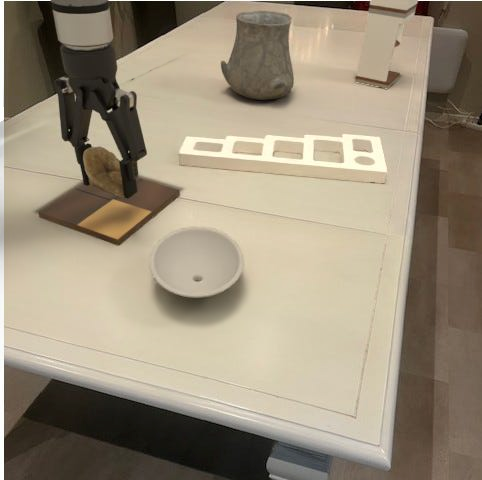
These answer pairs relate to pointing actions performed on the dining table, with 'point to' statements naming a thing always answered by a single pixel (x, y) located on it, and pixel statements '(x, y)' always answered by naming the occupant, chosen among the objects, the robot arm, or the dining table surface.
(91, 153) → the fossil
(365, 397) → the dining table surface
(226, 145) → the holder
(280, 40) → the vessel
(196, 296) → the dish
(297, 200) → the dining table surface
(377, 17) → the white square pillar
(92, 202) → the board
